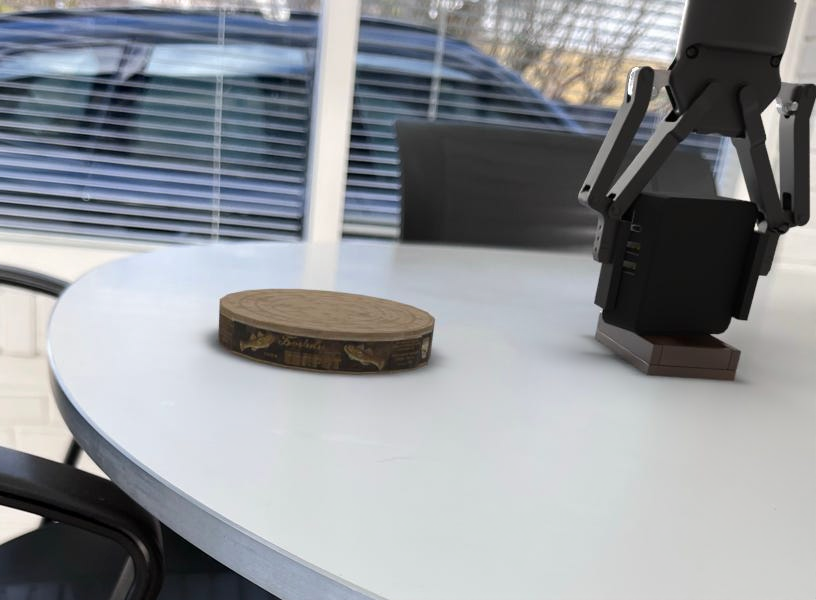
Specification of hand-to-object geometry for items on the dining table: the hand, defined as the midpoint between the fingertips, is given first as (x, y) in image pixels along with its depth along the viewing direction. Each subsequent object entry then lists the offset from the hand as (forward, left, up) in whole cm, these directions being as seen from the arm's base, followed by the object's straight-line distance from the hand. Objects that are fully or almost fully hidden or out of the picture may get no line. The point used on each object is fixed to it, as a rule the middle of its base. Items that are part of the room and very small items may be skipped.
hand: (670, 312), depth 85 cm
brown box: (0, 0, -4) cm, 4 cm away
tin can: (+28, +4, -4) cm, 29 cm away
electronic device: (0, 0, -2) cm, 2 cm away
